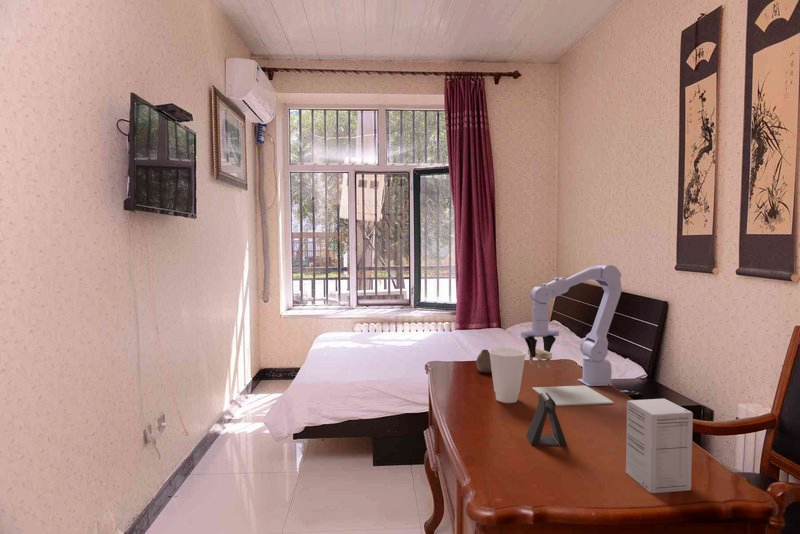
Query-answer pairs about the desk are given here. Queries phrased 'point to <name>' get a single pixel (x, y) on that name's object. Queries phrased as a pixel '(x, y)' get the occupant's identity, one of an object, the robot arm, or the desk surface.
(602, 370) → the robot arm
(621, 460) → the desk surface
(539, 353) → the tan plank with pegs
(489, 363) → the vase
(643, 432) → the supplement box
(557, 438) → the phone stand
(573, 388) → the mat
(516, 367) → the cup
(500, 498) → the desk surface
